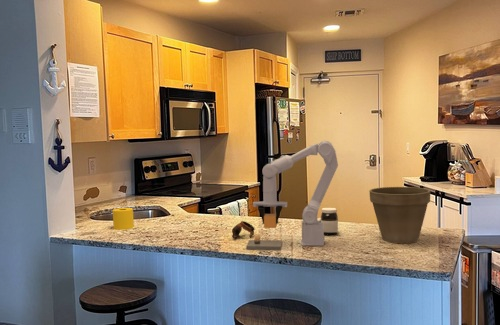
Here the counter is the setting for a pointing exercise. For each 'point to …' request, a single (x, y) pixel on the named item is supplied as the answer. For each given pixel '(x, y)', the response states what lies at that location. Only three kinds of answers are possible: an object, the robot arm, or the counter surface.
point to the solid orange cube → (270, 221)
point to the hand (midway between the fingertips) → (270, 223)
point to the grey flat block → (263, 244)
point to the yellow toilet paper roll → (123, 218)
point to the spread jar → (329, 221)
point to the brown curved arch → (245, 226)
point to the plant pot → (400, 212)
